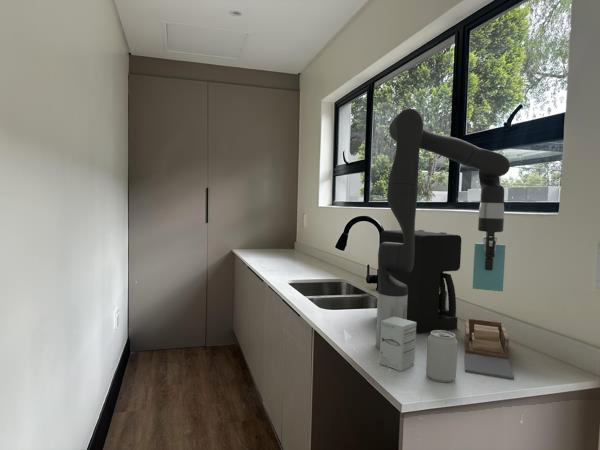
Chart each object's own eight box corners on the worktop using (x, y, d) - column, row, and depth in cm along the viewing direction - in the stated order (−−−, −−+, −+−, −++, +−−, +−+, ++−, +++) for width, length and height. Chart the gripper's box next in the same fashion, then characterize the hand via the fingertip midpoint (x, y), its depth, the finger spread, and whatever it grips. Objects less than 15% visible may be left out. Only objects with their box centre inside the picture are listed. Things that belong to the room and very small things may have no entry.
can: (436, 385, 106) (438, 338, 106) (420, 373, 113) (422, 329, 113) (462, 382, 108) (464, 336, 108) (444, 370, 115) (446, 327, 115)
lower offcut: (500, 352, 128) (500, 342, 128) (471, 348, 131) (472, 339, 131) (498, 345, 135) (498, 336, 135) (471, 341, 138) (471, 332, 137)
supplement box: (378, 364, 119) (379, 320, 118) (392, 357, 124) (394, 315, 123) (401, 372, 114) (402, 326, 113) (415, 365, 119) (417, 321, 118)
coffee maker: (467, 331, 152) (472, 235, 151) (425, 337, 144) (430, 235, 142) (415, 312, 178) (418, 229, 176) (377, 316, 169) (380, 229, 167)
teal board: (502, 291, 136) (505, 245, 135) (472, 288, 139) (475, 243, 138) (502, 289, 138) (504, 244, 138) (472, 287, 142) (474, 242, 141)
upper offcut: (498, 342, 129) (499, 332, 129) (474, 338, 131) (474, 329, 131) (497, 336, 134) (497, 327, 134) (473, 333, 137) (474, 324, 137)
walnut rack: (507, 359, 126) (509, 336, 125) (464, 352, 130) (466, 330, 130) (503, 342, 141) (504, 322, 140) (464, 337, 145) (465, 317, 145)
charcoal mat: (513, 379, 111) (514, 377, 111) (465, 371, 115) (465, 369, 115) (508, 361, 124) (508, 359, 124) (464, 354, 128) (465, 353, 128)
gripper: (505, 217, 129) (502, 273, 130) (502, 217, 143) (499, 267, 143) (479, 216, 132) (476, 271, 133) (478, 216, 145) (475, 265, 146)
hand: (488, 269), depth 138 cm, fingers closed on teal board, 3 cm apart
